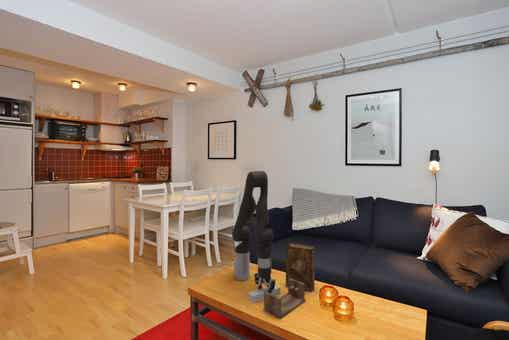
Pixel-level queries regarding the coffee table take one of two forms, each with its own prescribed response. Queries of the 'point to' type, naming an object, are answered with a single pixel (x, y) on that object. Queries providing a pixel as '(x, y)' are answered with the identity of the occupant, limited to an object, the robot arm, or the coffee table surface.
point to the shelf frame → (285, 300)
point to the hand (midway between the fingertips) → (264, 294)
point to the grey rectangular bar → (261, 294)
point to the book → (300, 264)
